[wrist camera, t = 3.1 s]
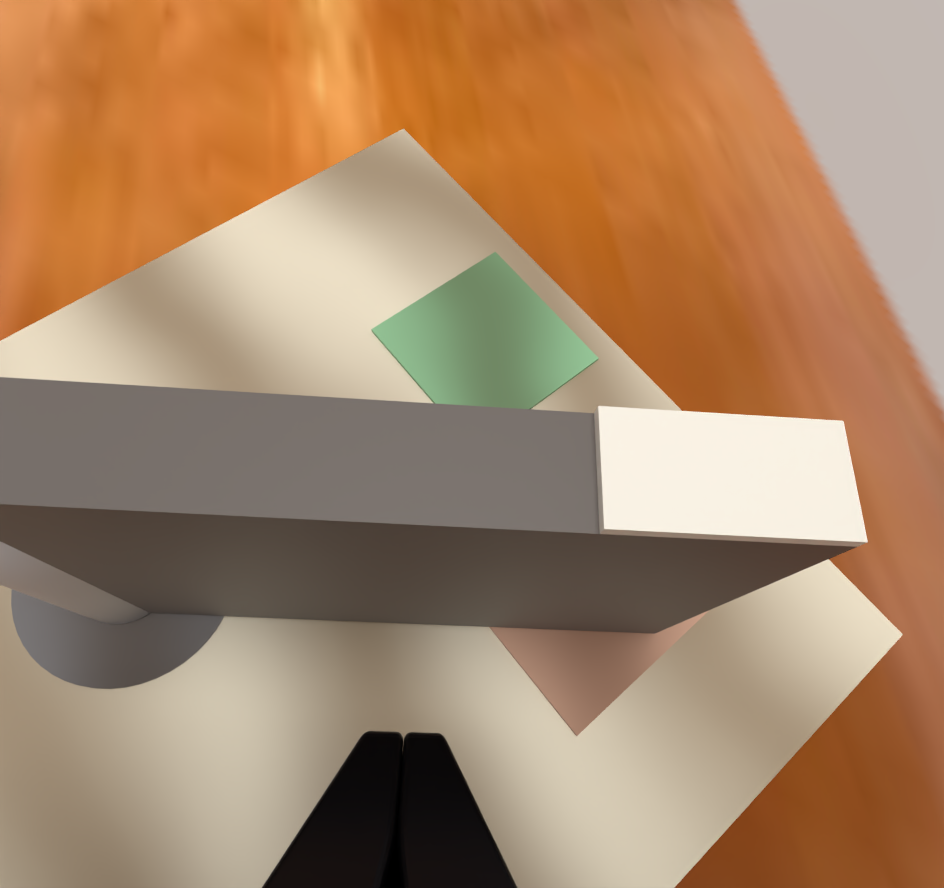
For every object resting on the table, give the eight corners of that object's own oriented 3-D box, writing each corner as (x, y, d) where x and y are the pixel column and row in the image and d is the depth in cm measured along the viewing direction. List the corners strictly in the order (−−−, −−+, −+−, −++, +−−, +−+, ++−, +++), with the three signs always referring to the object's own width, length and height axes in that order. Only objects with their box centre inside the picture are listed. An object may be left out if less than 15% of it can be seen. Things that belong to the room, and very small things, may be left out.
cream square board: (169, 1423, 10) (153, 1468, 10) (-270, 505, 15) (-301, 495, 14) (885, 638, 16) (906, 633, 15) (403, 145, 20) (403, 125, 20)
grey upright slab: (61, 622, 14) (-390, 472, 6) (86, 524, 14) (-284, 282, 7) (656, 645, 14) (934, 541, 7) (649, 551, 15) (891, 361, 8)
